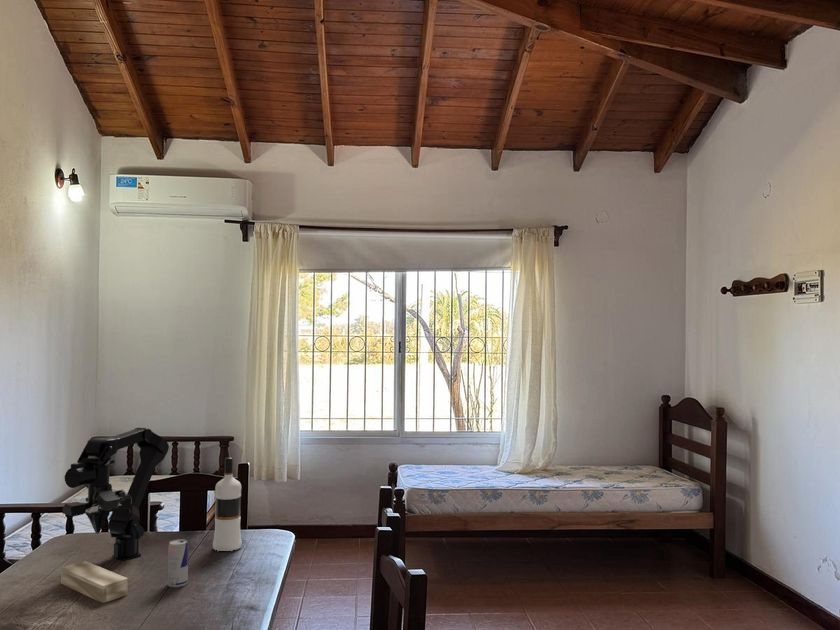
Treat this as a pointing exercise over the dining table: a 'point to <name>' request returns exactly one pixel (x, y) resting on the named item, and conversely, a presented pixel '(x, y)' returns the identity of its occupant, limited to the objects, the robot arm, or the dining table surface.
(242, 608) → the dining table surface
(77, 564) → the cream rounded block
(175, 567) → the energy drink
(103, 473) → the robot arm
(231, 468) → the vodka
